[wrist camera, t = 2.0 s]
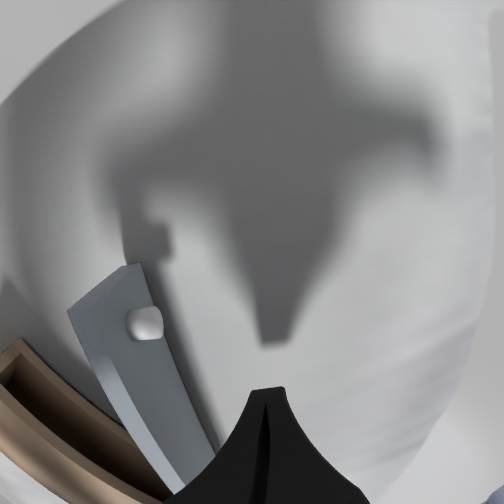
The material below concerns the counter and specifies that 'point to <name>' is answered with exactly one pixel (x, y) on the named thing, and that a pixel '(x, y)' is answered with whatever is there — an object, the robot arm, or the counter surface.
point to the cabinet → (68, 438)
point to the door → (141, 374)
